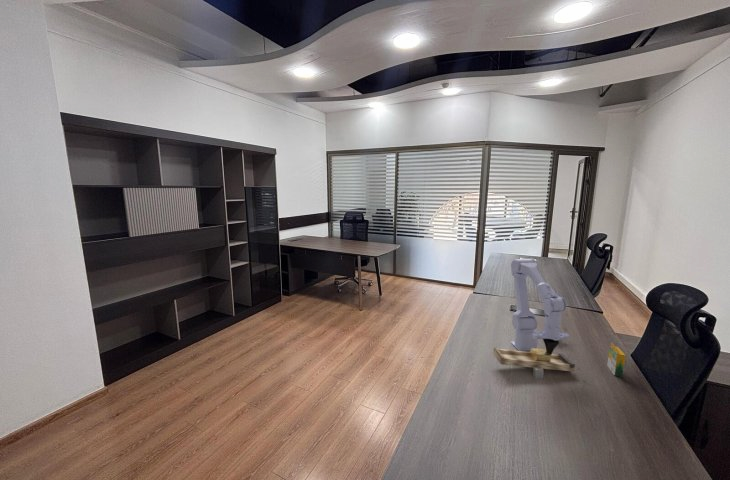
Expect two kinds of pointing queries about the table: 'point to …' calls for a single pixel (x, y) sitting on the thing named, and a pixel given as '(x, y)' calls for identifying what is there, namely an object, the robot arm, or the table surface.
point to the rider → (540, 355)
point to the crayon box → (616, 360)
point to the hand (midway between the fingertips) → (548, 354)
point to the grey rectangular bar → (538, 372)
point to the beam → (526, 361)
